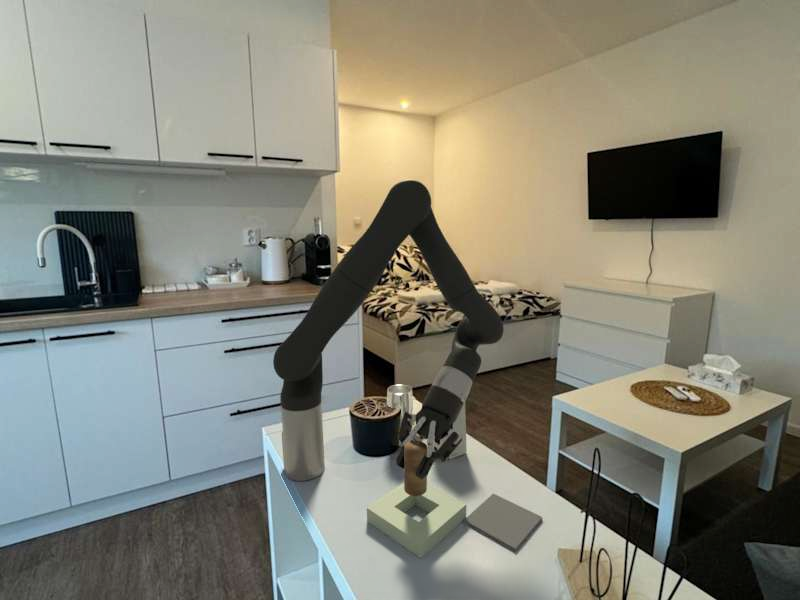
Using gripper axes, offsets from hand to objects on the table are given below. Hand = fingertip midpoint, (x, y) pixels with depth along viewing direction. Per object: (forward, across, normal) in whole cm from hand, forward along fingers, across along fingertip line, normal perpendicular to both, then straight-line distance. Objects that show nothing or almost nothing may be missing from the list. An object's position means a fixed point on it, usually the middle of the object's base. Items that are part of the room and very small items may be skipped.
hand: (409, 471), depth 80 cm
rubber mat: (-1, +13, +17) cm, 22 cm away
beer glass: (-7, -23, +24) cm, 34 cm away
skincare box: (-11, -11, +27) cm, 31 cm away
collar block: (+7, 0, +10) cm, 12 cm away
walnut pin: (+2, 0, +5) cm, 5 cm away
